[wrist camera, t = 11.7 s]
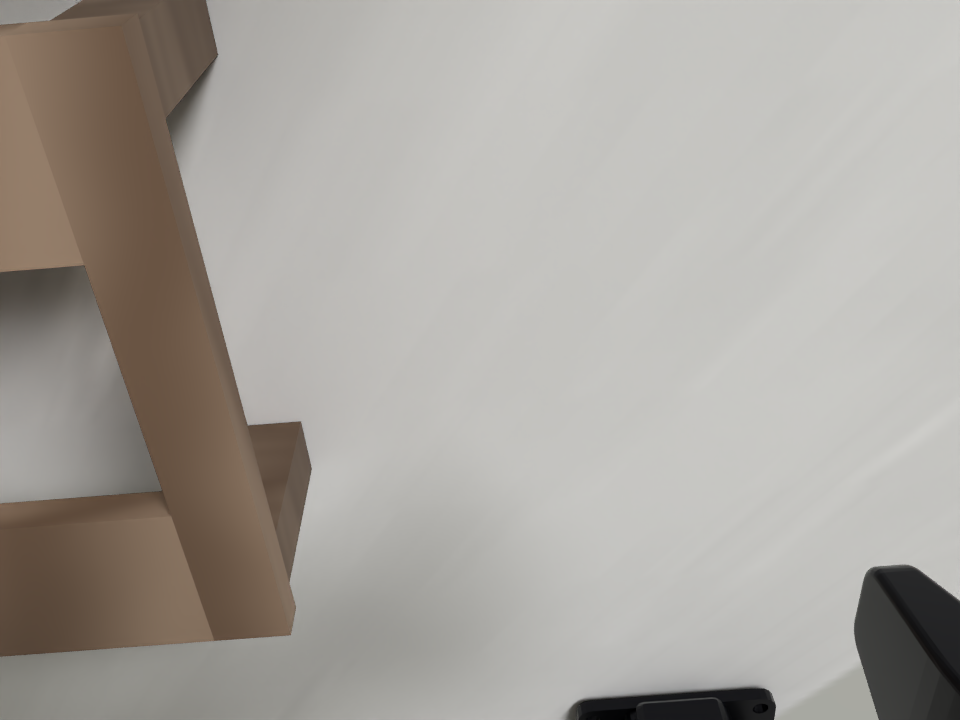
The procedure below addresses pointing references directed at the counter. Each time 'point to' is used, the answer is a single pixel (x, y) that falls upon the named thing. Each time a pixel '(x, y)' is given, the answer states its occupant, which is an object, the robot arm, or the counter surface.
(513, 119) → the counter surface
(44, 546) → the four-legged frame stand
